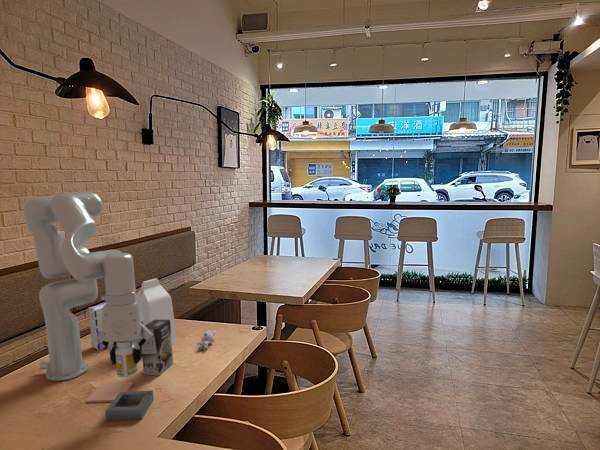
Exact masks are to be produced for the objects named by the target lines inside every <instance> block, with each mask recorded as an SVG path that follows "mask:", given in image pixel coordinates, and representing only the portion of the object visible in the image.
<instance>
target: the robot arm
mask: <svg viewBox="0 0 600 450" xmlns="http://www.w3.org/2000/svg"><path fill="white" fill-rule="evenodd" d="M103 205H104V204H103V202H102V200H101V197H100V196H99V195H98V194H96V193H95V192H92V191H78V192H77V191H76V192H75V191H74V192H73V191H72V192H63V193H58V194H57V195H47V196H38V197H33V198H30V199H28V200H26V202H25V203H24V205H23V218H24V222H25V224H26V226H27V228H28V230H29V232H30V233H31V236H32V237H33V241H34V247H35V252H36V256H37V262H38V263H37V264H38V268H39V271H40V274H41V275H42V277H43V278H45V279H56V278H61V277H68V276H71V277H73V278H69V279H64V280H58V281H54V282H51V283H47V284H46V285H44V286H42V287H41V289H40V290H39V293H38V298H39V302H40V306H41V309H42V314H43V317H44V321H45V322H44V324H45V331H46V339H47V340H46V341H47V347H48V348H47V349H48V358H49V359H48V360H41V361H40V362H39V370H46V372H45V378H46V380H48V381H52V382H60V381H67V380H72V379H74V378H77V377H79V376H82V374H84V373H86V372H88V371H87V370H89V364H88V363H87V362H86V361H84V360H83V354H82V343H81V334H80V333H81V332H80V324H79V323H80V322H79V319H78V317H77V316H76V315H75V314H74V313H72V312H71V311H70V309H73V308H77V307H79V306H84V305H86V304H90V303H92V302H94V301H96V299H97V298H98V294H99V288H98V281H97V280H99V279H103V281H104V290H105V294H102V295H100V296H101V297H100V300H101V301H105V303H107V304H105V305H104V306H103V314H102V331H101V332H100V333H99V335H98V336H97V337H96V339H97V340H99V341H100V342H102V343H103V345H104V346H106V347H107V348H106V349H107V350H108V351H109V355H110V356H109V358H110V361H111V365H116V356H115V350H116V349H117V348H118V346H117V345H116V343H117V342H124V341H132V342H133V344H134V346H135V349H134V363H135V364H138V363H139V362H140V361H141V360H142V345H143V344H144V343H145V342H146V341H147V340H148V339H149V338H150V337H151V336H152V335H153V334H152V332H151V331H149V330H148V329H147V328H146V327H145V326H144V320H143V315H142V310H141V307H140V304H139V301H137V300H136V294H137V290H136V279H135V264H134V258H133V255H132V254H130V253H128V252H122V251H120V250H119V249H107V250H98V251H92V252H90V249H88V248H87V247H86V246H83V244H84V243H87V242H88V241H89V240H91V239H92V238H93V237H94V236H95V235H96V233H97V230H98V224H97V222H96V221H95V220H94V218H98V217H100V216H101V215H102V213H103V209H104V207H103ZM56 222H57V223H58V224H59V226H60V227H61V229H62V230H63V231H62V230H61V229H60V228H59V227H58V226H56V225H55V224H54V223H56ZM63 232H64V233H63ZM64 234H65V235H66V236H65V235H64ZM142 334H144V335H145V337H144V338H143V339H142V340H141V335H142ZM133 344H132V345H133Z"/></svg>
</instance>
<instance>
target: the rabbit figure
mask: <svg viewBox="0 0 600 450" xmlns="http://www.w3.org/2000/svg"><path fill="white" fill-rule="evenodd" d="M216 334H217V330H212V329H211V330H210V329H209V330H208V329H207V330H206V331H205V332H204V335H203V337H202V338H201V341H200V342H197V343H196V344H197V345H198V347H197V352H200V351H202V352H205V353H206V351H207V350H208V348H209V345H210V344H211V345H214V341H215V338H214V337H215V336H216Z"/></svg>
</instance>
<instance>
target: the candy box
mask: <svg viewBox="0 0 600 450" xmlns="http://www.w3.org/2000/svg"><path fill="white" fill-rule="evenodd" d="M105 304H107V303H106V302H105V303H102V304H97V305H94V306H90V307H87V308H88V320H89V327H90V328H89V329H90V339H91V348H93V349H94V350H96V351H97V352H99V351H103V350H106V349H108V348H107V347H106V346H104V345H103V343H102V342H100V341H99V340H97V339H96V337H97V336H98V335H99V333H100V332H101V331H102V314H103V306H104V305H105ZM116 346H117V343H116Z"/></svg>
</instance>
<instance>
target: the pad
mask: <svg viewBox="0 0 600 450" xmlns="http://www.w3.org/2000/svg"><path fill="white" fill-rule="evenodd" d="M133 385H134V382H133V381H132V382H131V381H130V382H113V383H112V382H111V383H109V382H108V383H100V385H99V386H98V387H97V388H96V389H95V390H94V391H93V392H92V393H91V395H89V396H88V398H87V399H86V400H85V403H86V404H89V403H91V404H92V403H108V402H109V403H112V401H113V400H114V399H115V398H116V396H117V395H118V394H119V393H120V392H129V390H131V388H132V386H133Z"/></svg>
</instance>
